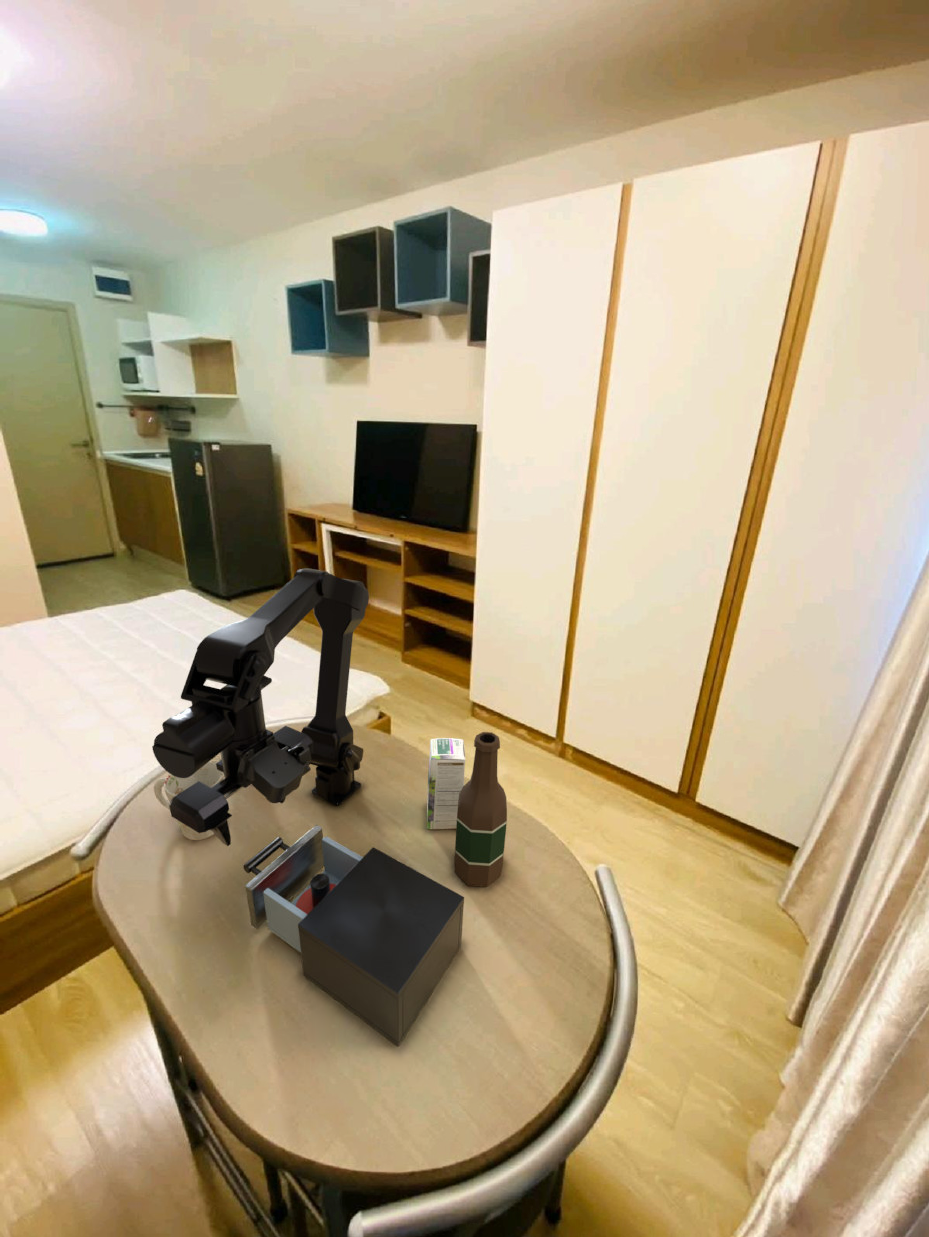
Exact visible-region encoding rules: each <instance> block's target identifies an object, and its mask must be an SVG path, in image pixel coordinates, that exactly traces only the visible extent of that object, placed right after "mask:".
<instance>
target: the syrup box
mask: <svg viewBox="0 0 929 1237" xmlns="http://www.w3.org/2000/svg"><path fill="white" fill-rule="evenodd" d="M465 748H466V747H465V742H464V739H462V738H454V737H453V738H452V737H437V738H431V739H430V740H429V756H428V773H427V774H428V775H427V798H426V799H427V803H426V806H427V807H426V827H427V830H453V829H455V830H456V825H457V810H458V800H459V794H460V792H461V790H462V788H463V786H464V785H465V775H466V774H465V772H466V749H465Z"/></svg>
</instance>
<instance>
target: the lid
mask: <svg viewBox="0 0 929 1237" xmlns="http://www.w3.org/2000/svg"><path fill="white" fill-rule="evenodd" d="M309 885H311V888H310V889H308V890H307V891H305V892H304V893H303V894H302V895H301V896H300V898H299V899H298V901H297V903H296V907H297V908H299V909H300V910H302V911H303V912H305V913H306V914H308V913H309V912H310V911H311V910H312V909H313V908H314V907H315V906H316V905H317V904H318V903H319V902H320V901H321V900H322V899H323V898H324V897H325V896H326V895H327V894H328V893H329V892H330V891H331V890H332V889H333V888H334V887H335V886H336V885H335V884H330V883H329V877H328V876H327V875H326V874H321V873H316V874H315V875H314V876H313V877H312V878H311V879H310V883H309Z"/></svg>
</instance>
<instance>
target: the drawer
mask: <svg viewBox="0 0 929 1237" xmlns="http://www.w3.org/2000/svg"><path fill="white" fill-rule="evenodd" d="M323 833H324V832H323V827H322V826H319V825H318V824H316V825H314V826H313V827H312V828H311V829H310V830H308V831H307V832H306V833H305V834H304V835H302V836H301V837H300V838H299V839H298V840H297V841H296V842H294V844H291V846H290V845H288V844H286V843H285V842H284V839H282V837H280V836H277V837H276V838H274V840H272V841H271V842H269V844H267V845H266V846H265V847H263V848H262V849H261V850H260V851H259V852H257V853H256V854H255V855H253V857H251V858H250V859H249V860H247V861H246V862H245V863H243V865H242V868H243V870H244V872H245V873H247V874H251V873H252V874H254V875H255V877H253V878H251V880H250V881H248V883H247V884H245V885H244V889H245V896H246V900H247V908H248V914H249V920H250V926H251V927H253V928H254V929H255V930H259V929H260V928H261V927H262V926H263V925H264V924H265V923H266V922H267V923H266V924H267V928H268V931H270V932H271V933H273V934H274V935H276V936H277V937H278V938H280V939H281V941H283V942H285V943H287V945H289V946H291V947H292V948H293V949H295V950H296V951H298V952H299V953H300V954H301V947H300V938H299V929H298V924H299V923H300V922H301V921H302V920H303V919H304V917H305V916H306V915H307V914H306V913H305V912H303V911H302V910H300V909H299V908H297V907H296V903H297V901H298V899H299V898H300V896H301V895H302V894H303V893H304V892H305V891H307V890H308V889H310V888H311V885H310V884H309V885H308V886H307V887H306V888H305V889H303V891H302V892H300V893H299V895H298V896H296V897H295V898H294V899H293V900H292V901H291V902H290V901H289V900H290V899H291V898H293V897H294V895H296V894H297V893H298V892H299V891H300V890H301V889H302V888H303V887H304V886H305V885H306V884H307V883H308V882H309V881H311V880H312V878H313V877H314V876H315V875H317V874H318V872H319V871H321V870H322V869H323V871H322V872H321V873H320V874H326V875H327V876H328V877H329V883H330V884H335V885H337V884H338V883H339V882H340V881H341V880H342V879H343V878H344V877H345V875H346V874H347V873H348V872H349V871H350V870H351V869H352V868H353V867H354V866H355V865H356V864H357V863H358V862H359V861H360V860H361V859H362V858H363V857H364V856H361V855H360V854H358V853H356V852H355V851H353V850H351V849H349V848H348V847H346V846H344V845H342V844H340V843H338V842H337V841H335V840H334V839H332V838H330V837H328V836H324V834H323ZM279 849H282V850H283V851H284V852H283V853H282V854H280V855H279V856H278V857H277V858H276V859H274V860H273V861H272V862H271V863H270V864H269V865H268V866H266V867H265V868H264V869H263V870H261V869H260V868H258V867H259V866H260V865H261V864H263V863H264V862H265V861H266V860H268V859H269V857H271V856H272V855H273V854H275V852H277V851H278V850H279Z"/></svg>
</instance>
